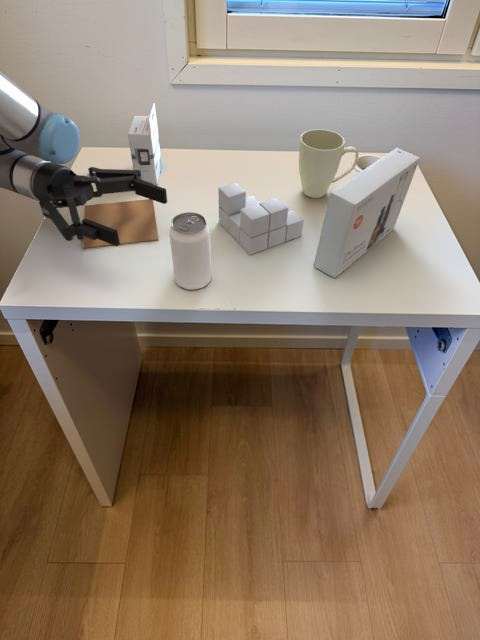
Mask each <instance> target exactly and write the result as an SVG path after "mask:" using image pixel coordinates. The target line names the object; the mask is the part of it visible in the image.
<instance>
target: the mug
mask: <svg viewBox="0 0 480 640" xmlns="http://www.w3.org/2000/svg"><path fill="white" fill-rule="evenodd" d="M345 144H346V140H345V138H344V136H343V135H341V134H340V133H338V132H336V131H334V130H329V129H322V128H315V129H314V128H313V129H309V130H307V131H304V132H303V133H301V135H300V137H299V148H298V149H299V151H298V172H299V177H300V182H301V183H300V184H301V187H302V192H303V194H304V195H305V196H307V197H308V198H311V199H318V198H322V197H324V196H325V195H326V193H327V191H328V190H329V188H330V186H331V185H332V184H333V183H337V182H338V181H340V180H342V179H343V178H344V177H346V176H347V175H348V174H350V173H351V172H352V171H353V170H354V169H355V168H356V166H357V165H358V161H359V150H358V149H357V148H356V147H354V146H346V147H345ZM349 152H354V153H355V154H354V155H355V156H354V161H353V163H352V164H351V165H350V166H349V167H348V168H347V169H346V170H343V172H341V173H340V174H339V175H337V173H338V169H339V167H340V163H341V159H342V157H343V156H344V155H345V154H347V153H349ZM336 175H337V176H336Z"/></svg>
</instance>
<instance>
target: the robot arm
mask: <svg viewBox="0 0 480 640" xmlns="http://www.w3.org/2000/svg"><path fill="white" fill-rule="evenodd" d="M80 146H81V135H80V131H79V128H78V126H77V124H76V123H75V122H74V120H72V119H71V118H69V117H67V116H65V115H63V114H62V113H59V112H53V111H51V110H49V109H48V108H46V107H45V106H44V105H43V104H42V103H41V102H39V101H38V100H37V99H35V98H34V97H33V96H31V95H30V94H29V93H28V92H27V91H25V90H24V89H23V88H22V87H21V86H20V85H19V84H17V83H16V82H15V81H13V80H12V79H11V78H10V77H9V76H7V75H6V74H5V73H3V72H2V71H1V70H0V188H1V189H5V190H7V191H10V192H13V193H15V194H18V195H20V196H24V197H26V198H28V199H31V200H34V201H36V202H38V203H39V206H40V207H39V208H40V210H41V213H42V215H43V217H46V218H47V219H50V221H51V222H52V223H53V225H54V226H55V228H56V229H57V231H58V232H59V233H60V234H61V236H62V238H64V240H65V241H66V242H71V241H72V240H74V237H76V238H77V239H76V240H78V241H84V238H85V237H87V238H90V239H92V240H96V239H99V240H102V241H104V242H107V243H109V244H112V246H114V247H118V246H120V245H119V244H120V242H119V237H118V233H117V230H115V229H112V228H109V227H107V226H104V225H101V224H99V223H96V222H93V221H91V220H88V219H84V218H83V219H82V220H81V219H80V215H79V211H78V208H77V207H83V206H85V205H86V204H87V202H89V201H90V200H92V199H94V198H101V197H102V196H103V195H108V194H110V195H111V194H116V193H117V194H118V193H127V192H129V193H130V192H134V194H135V195H137V196H140V197H142V198H146V199H151V200H153V202H154V201H155V202H158V203H160V204H164V205H166V204H167V203H168V195H167V189H166V188H164V187H162V186H159V185H154V184H152V183H150V182H147V181H144V180H142V175H141V171H140V170H134V169H112V168H110V169H109V168H98V167H95V166H90V167H88V173H87V174H86V175H79V174H77V173H76V172H74V171H73V170H72V169H71V168H69V167H68V166H65V164H68V163H70V162H71V161H72V160H73V159H74V158H75V157H76V156H77V154H78V152H79V149H80ZM92 184H94V186H95V189H96V191H95V190H94V186H93V185H92ZM63 208H68V211H69V215H70V219H71V222H72V223H71V224H69V223H68V222H67V221H66V219H65V218H64V217H63V215H62V214H61V212H60V211H59V209H63Z"/></svg>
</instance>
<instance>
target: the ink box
mask: <svg viewBox="0 0 480 640" xmlns="http://www.w3.org/2000/svg"><path fill="white" fill-rule="evenodd" d="M127 138H128V143H129V144H128V145H129V149H130V150H129V151H130V156H131V162H132V168H133V169H132V170H140V171H141V175H142V180H144V181H147V182H150V183H152V184H154V185H156V186H158V184H159V180H160V175H161V172H162V166H163V165H162V154H161V146H160V139H159V128H158V119H157V110H156V104H155V102H153V103H152V106H151V110H150V113H149V115H134V116H133V119H132V122H131V124H130V126H129V129H128V132H127Z"/></svg>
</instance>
